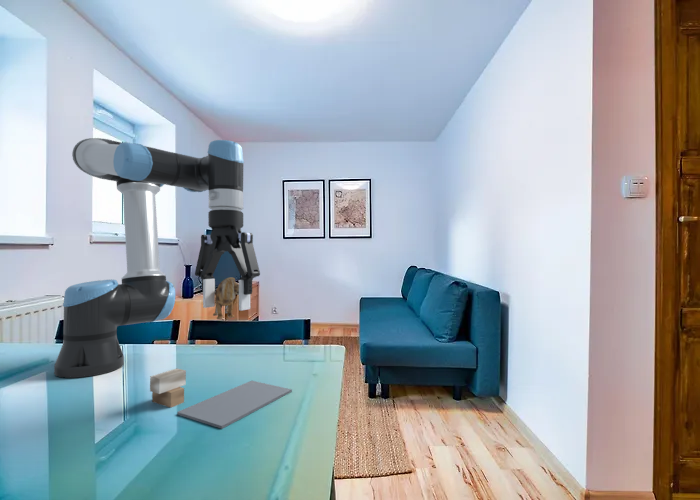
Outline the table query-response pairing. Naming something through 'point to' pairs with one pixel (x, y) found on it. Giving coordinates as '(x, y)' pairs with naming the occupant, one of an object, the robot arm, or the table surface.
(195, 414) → the gray mat
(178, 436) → the table surface
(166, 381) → the brick stack
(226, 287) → the lion figurine
